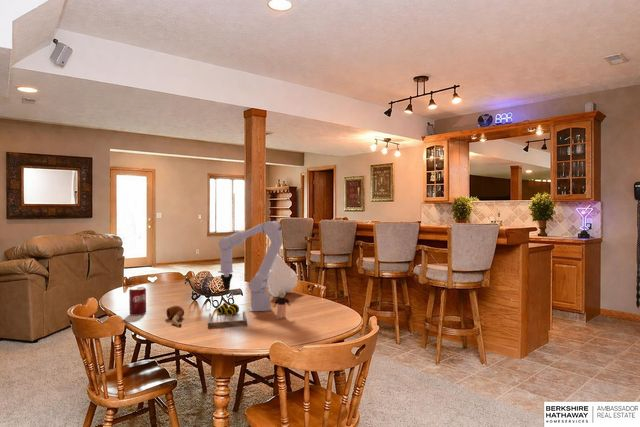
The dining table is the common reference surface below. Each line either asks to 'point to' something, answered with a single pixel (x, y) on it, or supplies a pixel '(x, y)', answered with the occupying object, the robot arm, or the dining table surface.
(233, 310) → the opera glasses
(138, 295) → the soda can
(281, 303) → the grandmother figurine
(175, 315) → the smoking pipe
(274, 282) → the white rounded lump
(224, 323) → the bar
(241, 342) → the dining table surface
